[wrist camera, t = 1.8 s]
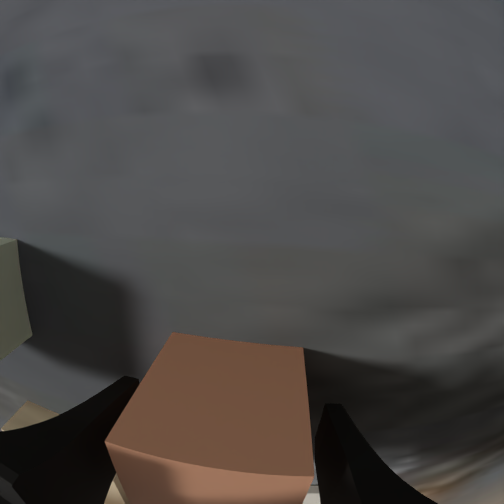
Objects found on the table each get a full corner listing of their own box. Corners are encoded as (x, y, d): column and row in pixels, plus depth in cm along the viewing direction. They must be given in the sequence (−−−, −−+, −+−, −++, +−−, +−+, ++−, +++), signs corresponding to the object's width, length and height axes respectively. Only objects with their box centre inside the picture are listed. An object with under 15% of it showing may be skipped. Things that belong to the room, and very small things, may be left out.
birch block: (158, 501, 16) (145, 537, 13) (65, 469, 17) (47, 498, 13) (136, 435, 14) (113, 480, 11) (30, 397, 15) (1, 428, 11)
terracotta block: (285, 434, 13) (281, 545, 7) (178, 420, 13) (138, 521, 7) (302, 346, 11) (314, 476, 6) (172, 331, 12) (104, 441, 6)
